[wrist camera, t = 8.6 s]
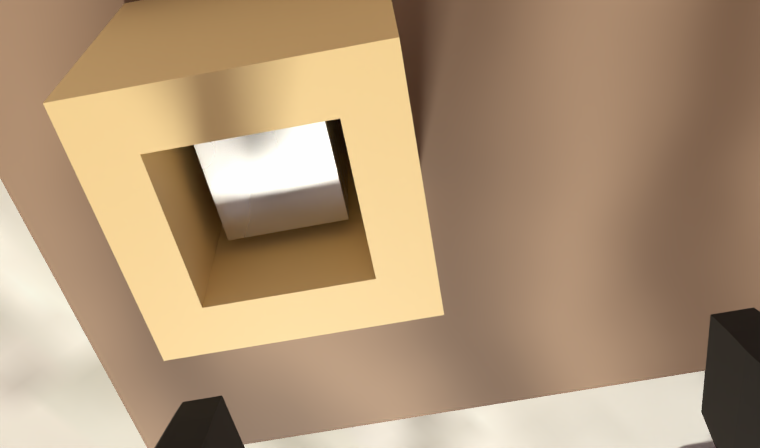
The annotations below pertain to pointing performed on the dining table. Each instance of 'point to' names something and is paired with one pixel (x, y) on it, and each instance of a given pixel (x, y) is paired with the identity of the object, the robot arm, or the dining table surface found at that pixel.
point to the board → (465, 212)
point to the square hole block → (240, 118)
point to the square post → (278, 178)
